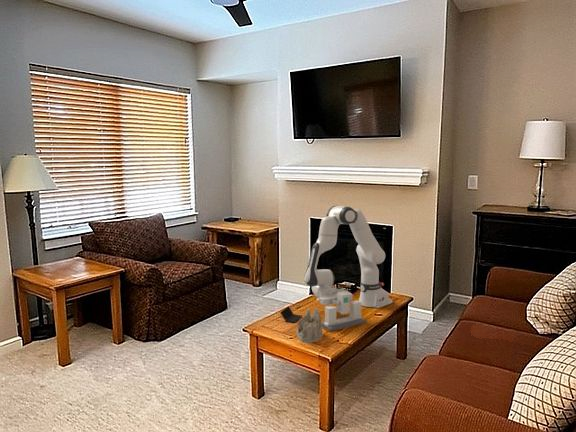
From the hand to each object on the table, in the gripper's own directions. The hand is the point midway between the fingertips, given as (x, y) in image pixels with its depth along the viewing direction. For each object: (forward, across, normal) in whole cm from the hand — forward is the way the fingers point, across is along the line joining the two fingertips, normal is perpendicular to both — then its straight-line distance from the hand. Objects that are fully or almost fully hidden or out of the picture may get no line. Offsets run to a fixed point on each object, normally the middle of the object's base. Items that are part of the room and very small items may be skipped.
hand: (343, 302), depth 243 cm
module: (-1, 0, +6) cm, 6 cm away
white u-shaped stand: (-1, 0, +13) cm, 13 cm away
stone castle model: (+3, -25, +14) cm, 28 cm away
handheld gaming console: (-22, -22, +14) cm, 34 cm away
